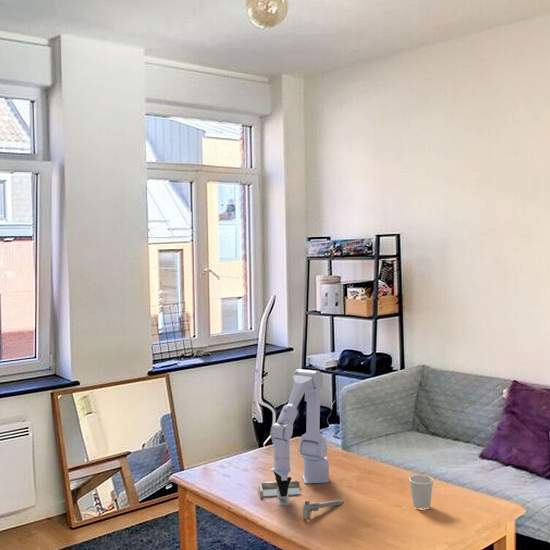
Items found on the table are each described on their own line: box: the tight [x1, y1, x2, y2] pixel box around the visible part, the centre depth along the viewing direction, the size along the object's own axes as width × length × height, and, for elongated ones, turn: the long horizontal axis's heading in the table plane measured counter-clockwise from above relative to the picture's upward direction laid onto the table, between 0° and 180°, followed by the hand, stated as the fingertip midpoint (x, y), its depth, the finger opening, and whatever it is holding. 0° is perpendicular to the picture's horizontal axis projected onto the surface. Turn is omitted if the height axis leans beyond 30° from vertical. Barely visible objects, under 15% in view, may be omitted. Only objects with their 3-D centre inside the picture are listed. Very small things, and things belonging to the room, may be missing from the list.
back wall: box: [259, 479, 301, 488], centre depth 251 cm, size 15×1×2 cm, turn 95°
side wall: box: [258, 482, 263, 499], centre depth 246 cm, size 1×8×2 cm, turn 6°
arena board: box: [262, 486, 302, 498], centre depth 247 cm, size 14×8×1 cm, turn 95°
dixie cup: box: [408, 474, 435, 509], centre depth 230 cm, size 8×8×10 cm
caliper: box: [302, 499, 344, 521], centre depth 229 cm, size 20×1×6 cm, turn 135°
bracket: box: [276, 487, 291, 506], centre depth 238 cm, size 6×4×4 cm, turn 5°
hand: (282, 493), depth 240 cm, fingers open, 5 cm apart
